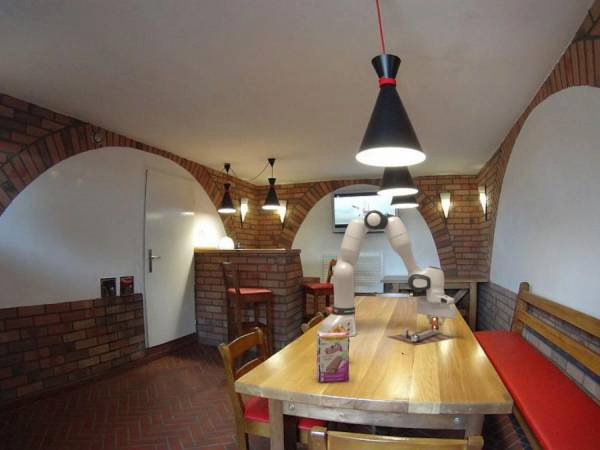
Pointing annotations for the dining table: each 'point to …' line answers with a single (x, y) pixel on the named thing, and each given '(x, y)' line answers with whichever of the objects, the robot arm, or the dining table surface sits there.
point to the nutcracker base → (430, 339)
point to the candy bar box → (332, 357)
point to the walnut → (411, 333)
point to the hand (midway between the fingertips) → (436, 324)
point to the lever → (427, 333)
